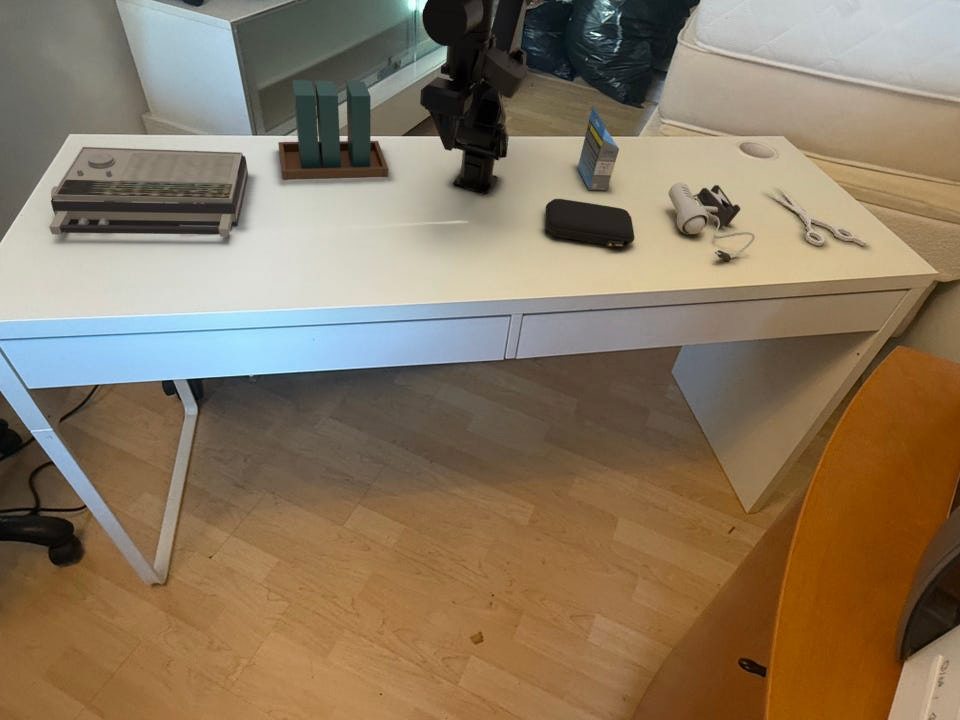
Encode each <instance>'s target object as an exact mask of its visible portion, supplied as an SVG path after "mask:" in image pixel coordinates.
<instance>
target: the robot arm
mask: <svg viewBox="0 0 960 720" xmlns="http://www.w3.org/2000/svg"><path fill="white" fill-rule="evenodd" d="M533 1H534V0H498V3H497V7H496V10H495V14H494V9H495V2H496V0H427V1H426V2H425V4H424V7H423V8H422V13H421V14H422V15H421V17H422V25H423V28H424V30H425V32H426V35H427V36H428V37H429V38H430V39H431V40H432V41H433V42H434V43H435V44H437V45H439V46H442V47H446V60H445V62H444V63H442V64H441V66H440V74H442V75H446V76H448V78H449V79H448V78H444V77H440V76H436V77H435V78H434V79H432V80H431V81H430V82H429V83H428V84H427V85H425V86H423V88H421V89H420V100H419V104H420V106H421V107H424V109H425V110H426V111H428V113H429V115H430V117H431V120H432V121H433V124H434V126H435V128H436V131H437V133H438V136H439V139H440V141H441V144H442V146H443V148H444V150H446V151H450V152H451V151H452V150H453V149H454V150H459V151H462V155H461V164H460V173H459V174H458V175H457V176H456V177H455V179H454V180H453V182H452V185H453V186H456V187H460V188H464V189H467V190H470V191H474V192H477V193H480V194H481V193H482V194H484V195H485V194H486V195H487V194H489V192H490V191H491V190H492V188H493V187H494V185H495V184H496V182H497V181H498V179H499V177H498V176H497V175H494V167H495V161H497V162H498V161H499V160H501V159H504V158H506V157H507V155H508V148H509V140H510V138H509V133H508V129H507V126H506V121H507V115H506V112H505V107H504V103H503V99H502V98H503V97H504V98H507V99H512V98H513V97H514V95H515V94H516V93H517V92H518V91H519V89H520V87H521V86H522V84H523V82H524V81H525V78H526V76H528V73H529V67H530V66H529V65H527V52H526V51H525V50H524V49H522V48H520V47H519V46H518V47H517V44H518V41H519V37H520V33H521V30H522V26H523V23H524V19H525V15H526V11H527V9H528V6H529V5H530V4H531V3H533Z"/></svg>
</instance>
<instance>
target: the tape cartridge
mask: <svg viewBox="0 0 960 720" xmlns="http://www.w3.org/2000/svg"><path fill="white" fill-rule="evenodd" d="M590 109H591V110H590V114H589V118H588V124H587V128H586V132H585V136H584V140H583V145H582V148H581V153H580V157H579V161H578V165H577V169H578V171H579V174H580V175H581V177H582V179H583V181H584V183H585V185H586V188H587V190H588V191H600V192H601V191H603V192H605V191H608V189H609V185H610V181H611V178H612V174H613V171H614V168H615V164H616V162H617V158H618V155H619V151H620V148H619V146H618V145H617V143H616V142H615V140H614V139H613V137H612V136H611V134H610V133H609V131H608V130H607V128H606V126H607V125H606V123H605V122H604V121H603V118H602V117H601V116H600V114H599V112H598V110H597V109H596V108H595V106H594V105H593V104H591V108H590ZM596 120H597V121H596Z"/></svg>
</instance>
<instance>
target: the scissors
mask: <svg viewBox="0 0 960 720" xmlns="http://www.w3.org/2000/svg"><path fill="white" fill-rule="evenodd" d="M780 190H781V191H782V192H783V194H784V196H785V197H786V198H787V200H788V201H789V202H790V203H788V202H787V201H785V200H784V199H782V198H780V197H778V196H777V195H775V194H773V193H771V192H769V191H767V190H766V192H767V193H769V194H770V195H771V196H773V197H774V198H775V199H777V200H778V201H779V202H781V203H782V204H783V205H785V206H786V207H788V208H789V209H791V210H792V211H794V212H795V213H797V215H798V216H799V218H800V220H801V221H803V223H804V224H805V225H806V227H805V230H807V232H806V234H805V236H804V237H805V240H806V241H807V242H808V243H810V244H812V245H814V246H822V245H823V244H824V243H825V241H826V239H825V237H824V236H823V235H822V234H821V233H820V232H817V231H815V230H814V229H813V228H812V224H815V225H818V226H821V227H823V228H826V229H827V230H829V231H830V232H831V233H833V236H834V237H836V238H838V239H840V240H841V241H846V242H854V243H856V244H859V245H861V246H863V247H865V245H866V244H867V241H866V240H864V239H861V238H859V237H857V236H855V234H854V233H853V232H851V231H850V230H848V229H846V228H843V227H837V226H833V225H832V224H830V223H828V222H825V221H822V220H819V219H818V218H816V217H815V216H814V215H811V214H809V213H807V212H806V211H804V210H803V209H802V208H801V207H800V205H799V204H797V203H796V202H795V201H794V199H792V197H791V196H790V195H789V194H788V193H787V192H786V191H784V190H783V189H782V188H781V189H780ZM812 237H814V238H816V239H814V238H812Z"/></svg>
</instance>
